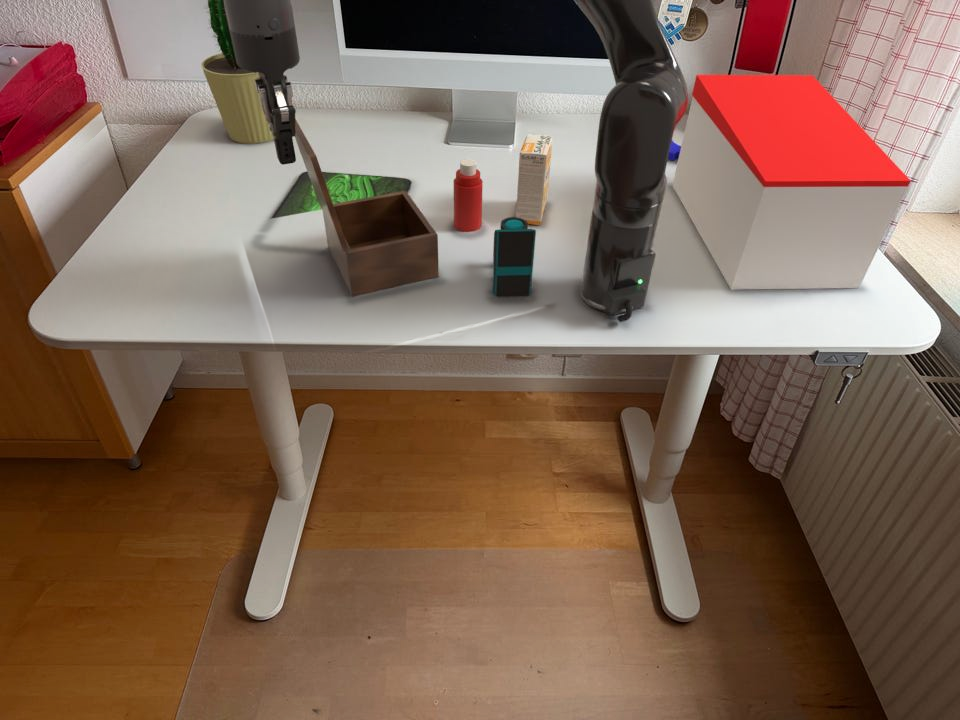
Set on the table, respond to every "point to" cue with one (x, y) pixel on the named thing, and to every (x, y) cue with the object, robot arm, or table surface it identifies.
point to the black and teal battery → (513, 258)
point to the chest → (383, 243)
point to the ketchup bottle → (468, 197)
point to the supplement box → (533, 177)
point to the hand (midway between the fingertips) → (287, 161)
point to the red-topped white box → (784, 183)
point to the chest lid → (319, 184)
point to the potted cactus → (234, 86)
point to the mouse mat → (338, 191)
